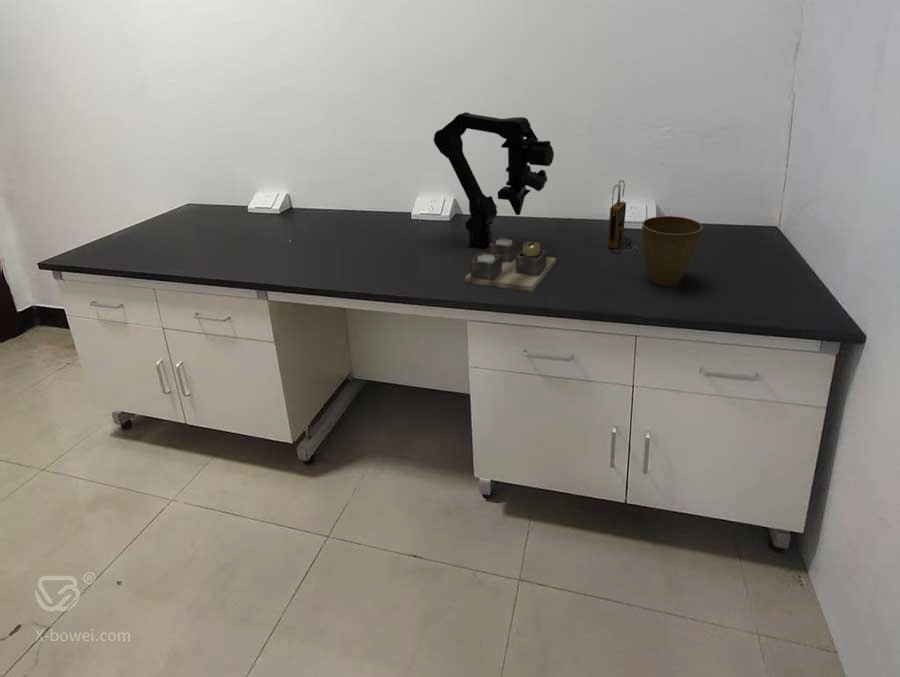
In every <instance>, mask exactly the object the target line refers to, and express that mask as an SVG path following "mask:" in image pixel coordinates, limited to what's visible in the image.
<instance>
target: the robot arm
mask: <svg viewBox="0 0 900 677" xmlns="http://www.w3.org/2000/svg"><path fill="white" fill-rule="evenodd" d="M467 130H475V131H480V132H485V133H491V134H496V135H498V136H499V137H500V138H502V139H504V140H505V141H504V142H503V143H502V144H501V145H500V147H501V148H504V149H507V158H508V159H507V161H508V162H507V163H508V164H507V165H508V166H507V167H505V172H507V173H508V174H507V175H508V180H507V181H506V182H505V185H506V186H502V188H500V189H499V190H498V191H497V200H505V201H506V200H508V202H509V204H510V205H511V207H512V210H513V211H514V212H513V213H514V214H515V216H520V215H521V212H522V209H523V205H524V202H525V197H526V196H527V195H528V194H529V193H530V192H531V191H532V190H531V189H527V187H530V188H532V189H533V190H535V191H536V192H541V191H542V189H544V187H545V185H546V183H547V182H548V176H547V173H546V170H544V169H540V170H539V171H538V172H537V171H532V168H531V166H543V167H550V166H551V165H552V163H553V161H554V155H555V152H554V149H553V146H552V145H551V141H550V140H542V141H541V140H539V138H538V137H537V135H536V134H535V132H534V131H533V129H532V126H531V123H530V121H529V120H528V118H526V117H523V116H520V117H518V116H516V117H508V118H507V117H506V118H498V117H491V116H487V115H480V114H473V113H470V112H462V113H459V114H457V115H456V116H455V117H454V118H453V120H451V121H450V122H449V123H447V124H446V125H445V126H444V127H442V128H441V129H439V130H436V131H435V133H434V136H433V142H434V145H435V146H436V148H437V149H438V151H439V153H440V154H441V155H443V156H444V157H445V158H446V159H448V160H449V163H450V165H451V167H452V169H453V171H454V173H455V176H456V177H457V179H458V181H459V183H460V185H461V188H462V189H463V191H464V194H465V195H466V197H467V199H468V208H469V209H468V211H469V214H470V217H469V219H468V220H467V221H466V222H465V223H464V225H465V228H466V230H467V231H468V234H469V243H468V244H467V247H468V248H475V249H485V250H486V249H488V247H489V244H490V243H491V242H493V241H494V240H493V235H492V234H493V232H492V230H491V225H492V224H493V222H494V220H495V219H496V217H497V214H498V210H497V208H498V205H496V203H495V202H494V199H493V197H492V195H489V196H486V194H484V193H483V191H482V189H481V186H480V185H479V183H478V181H477V178H476V177H475V175H474V173H473V170H472V169H471V166H470V164H469V162H468V160H467V159H466V156H465V154H464V150H463V139H462V135H463V136H464V134H465V132H466V131H467ZM526 186H527V187H526Z"/></svg>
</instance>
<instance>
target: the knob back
mask: <svg viewBox="0 0 900 677" xmlns="http://www.w3.org/2000/svg"><path fill="white" fill-rule="evenodd" d="M496 244H498V245H507V246H510V245H511V244H512V240H511V239H498V240H496Z"/></svg>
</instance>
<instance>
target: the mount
mask: <svg viewBox="0 0 900 677" xmlns="http://www.w3.org/2000/svg"><path fill="white" fill-rule="evenodd" d="M498 239H511V240H512V244H511V245H510V246H507V245H498V244H496V240H498ZM492 241H493V242H491V243H490V244H489V246H488V247H489V253H484V252H479V253H478V254H477V255H475V256H474V257H473V258H472V259H471V260H470V262H469V263H470V264H469V266H470V273H468V274H467V275H466V276H465V278H464V283H466V284H473V285H480V286H487V287H495V288H503V289H510V290H516V291H524V292H529V293H530V292H531V293H532V292H533V291H534V289H535V288H537V286H538V285H539V284H540V283H541V282H542V281H543V279H544V278H545V277H546V276H547V274H548V273H549V271H550V270H552V268H553V267H554V266H553V265H555V264H556V263H557V258H556V257H550V256H547V250H542V249H540V256H539V257H538V258H531V257H522V250H520V248H519V246H520V245H519V244H520V242H519V241H520V240H519V238H513V237H503V236H497V237H496V238H495V239H494V240H492ZM519 251H520V252H519ZM481 255H493V256H494V257H495V260H494V261H493V262H492V263H488V262H480V261H477V257H478V256H481Z"/></svg>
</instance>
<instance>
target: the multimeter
mask: <svg viewBox="0 0 900 677" xmlns="http://www.w3.org/2000/svg"><path fill="white" fill-rule="evenodd" d="M621 182H623V190H622V196H624V193H625V187H626V186H625V181H624V180H619V181H618V184H616V185H614V187H613V190H612V195H614V194H615V189H616V187H617V188H618V190H619V191H618V193H617V194H618V195H617V200H616V202H615V203H614V196H612V199H611V200H612V203H611V207H610V208H609V220H608V221H609V222H608V223H609V224H608V236H607V248H610V251H611V253H613V254H616V255H617V254H624V253H628V252H630V251H634V250H638V251H640V249H639V248H638V247H636V246H635V245H632V244H630V243H632V239H630V238H628V237H624V232H625V223H626V222H625V221H626V220H625V219H626V211H627V210H626V208H627V202H624V201H621V189H622V188H621ZM624 239H626V240H629V242H627V245H629V246H630V247H632V249H627V250H623V251H621V252H615V251H613V249H617V248H618V247H619V246H620V245H621V244H622V243H623V242H624Z"/></svg>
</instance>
